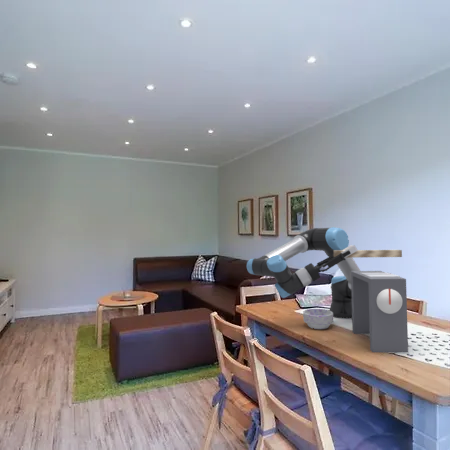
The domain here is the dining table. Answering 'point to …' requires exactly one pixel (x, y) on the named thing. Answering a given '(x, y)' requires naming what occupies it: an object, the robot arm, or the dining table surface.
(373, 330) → the scale shelf
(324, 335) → the dining table surface
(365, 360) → the dining table surface
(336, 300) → the robot arm
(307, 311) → the paper bowls
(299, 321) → the dining table surface
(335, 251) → the beech bar
